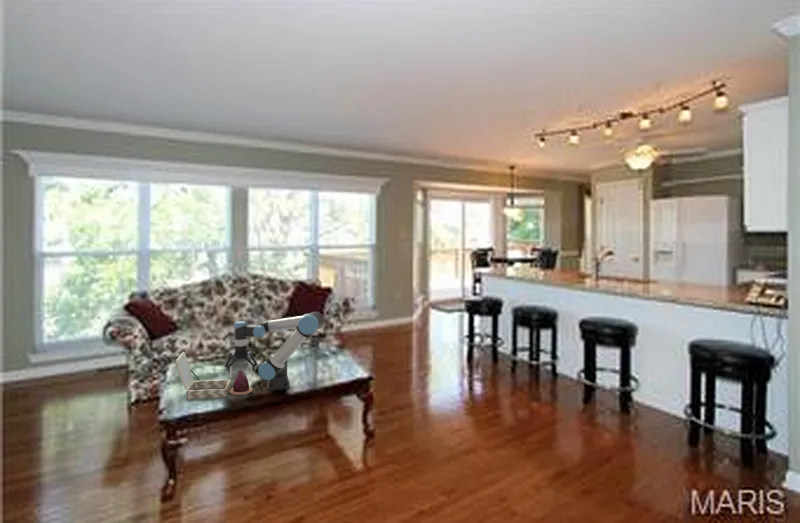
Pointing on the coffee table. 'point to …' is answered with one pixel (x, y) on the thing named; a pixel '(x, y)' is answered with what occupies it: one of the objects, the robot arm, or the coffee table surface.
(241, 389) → the dark red pyramid
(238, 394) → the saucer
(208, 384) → the cold frame
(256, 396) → the coffee table surface
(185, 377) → the lid
